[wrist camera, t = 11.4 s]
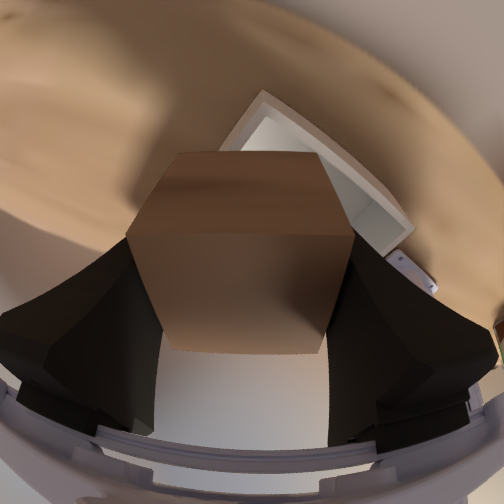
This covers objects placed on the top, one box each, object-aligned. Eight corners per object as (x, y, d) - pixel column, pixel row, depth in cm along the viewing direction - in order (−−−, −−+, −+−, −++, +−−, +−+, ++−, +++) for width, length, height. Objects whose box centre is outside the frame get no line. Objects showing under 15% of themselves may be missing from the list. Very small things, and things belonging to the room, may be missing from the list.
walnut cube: (304, 256, 13) (317, 353, 9) (195, 255, 13) (172, 349, 9) (316, 152, 9) (354, 235, 6) (179, 152, 10) (125, 234, 6)
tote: (387, 188, 18) (415, 228, 15) (275, 293, 26) (277, 337, 22) (262, 88, 14) (263, 101, 11) (164, 238, 22) (146, 282, 18)
